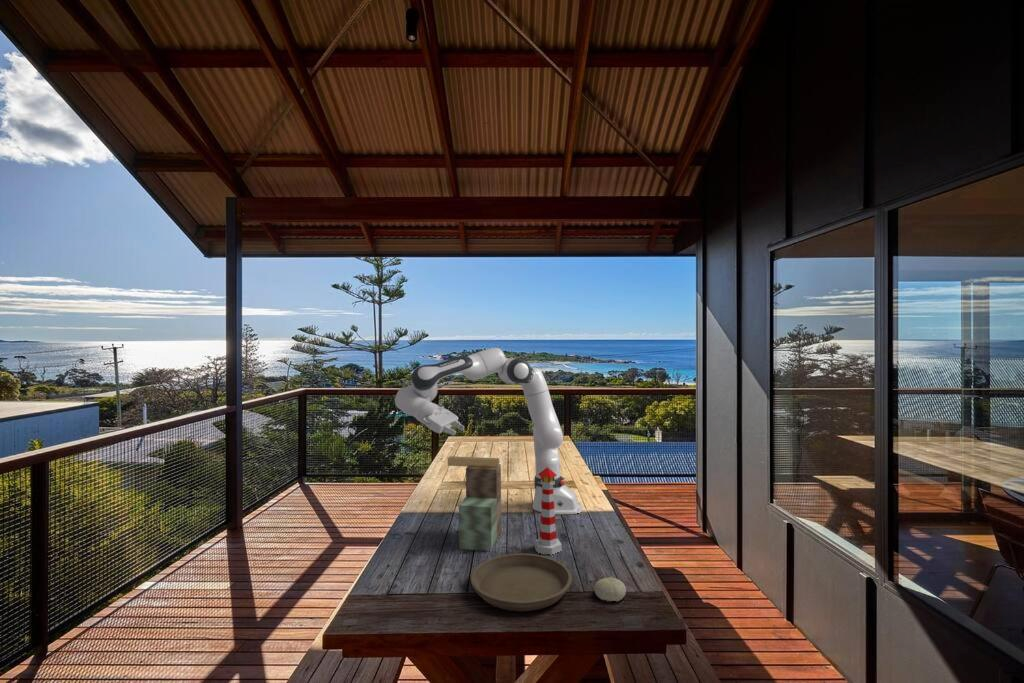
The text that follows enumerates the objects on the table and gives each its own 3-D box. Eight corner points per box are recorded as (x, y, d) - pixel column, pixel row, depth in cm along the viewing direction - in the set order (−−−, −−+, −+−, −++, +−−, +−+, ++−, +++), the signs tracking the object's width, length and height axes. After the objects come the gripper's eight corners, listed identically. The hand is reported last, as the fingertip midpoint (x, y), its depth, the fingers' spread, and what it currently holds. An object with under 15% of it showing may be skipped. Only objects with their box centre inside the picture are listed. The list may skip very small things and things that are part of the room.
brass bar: (499, 465, 201) (499, 458, 201) (497, 467, 198) (497, 460, 198) (450, 463, 204) (450, 456, 204) (447, 465, 202) (447, 458, 201)
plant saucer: (540, 628, 137) (540, 611, 137) (449, 597, 154) (449, 582, 154) (588, 581, 164) (588, 566, 164) (506, 559, 180) (505, 546, 180)
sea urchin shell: (588, 583, 158) (606, 564, 158) (606, 600, 158) (624, 581, 159) (595, 598, 149) (614, 577, 149) (614, 616, 149) (633, 596, 150)
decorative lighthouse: (564, 546, 190) (564, 465, 189) (558, 556, 181) (558, 471, 181) (537, 542, 193) (537, 463, 193) (530, 552, 185) (530, 469, 184)
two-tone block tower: (501, 532, 204) (500, 464, 203) (491, 551, 186) (490, 476, 186) (471, 530, 206) (471, 463, 205) (459, 548, 188) (458, 475, 188)
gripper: (423, 411, 196) (453, 429, 194) (442, 404, 216) (470, 420, 213) (416, 425, 197) (446, 443, 194) (436, 417, 217) (464, 433, 214)
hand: (459, 431), depth 204 cm, fingers open, 8 cm apart
